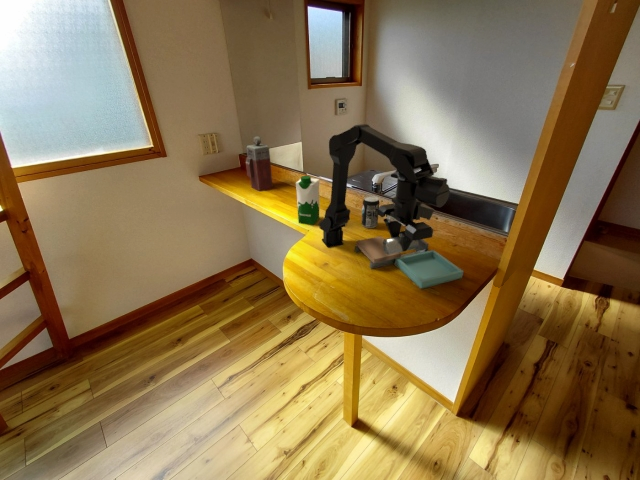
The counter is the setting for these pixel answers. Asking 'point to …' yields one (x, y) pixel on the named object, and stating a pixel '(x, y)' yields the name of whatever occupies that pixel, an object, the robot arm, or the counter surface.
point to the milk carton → (308, 200)
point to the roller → (396, 245)
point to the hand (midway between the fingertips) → (399, 247)
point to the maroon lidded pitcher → (259, 165)
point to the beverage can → (370, 212)
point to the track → (421, 248)
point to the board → (375, 249)
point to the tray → (428, 268)
